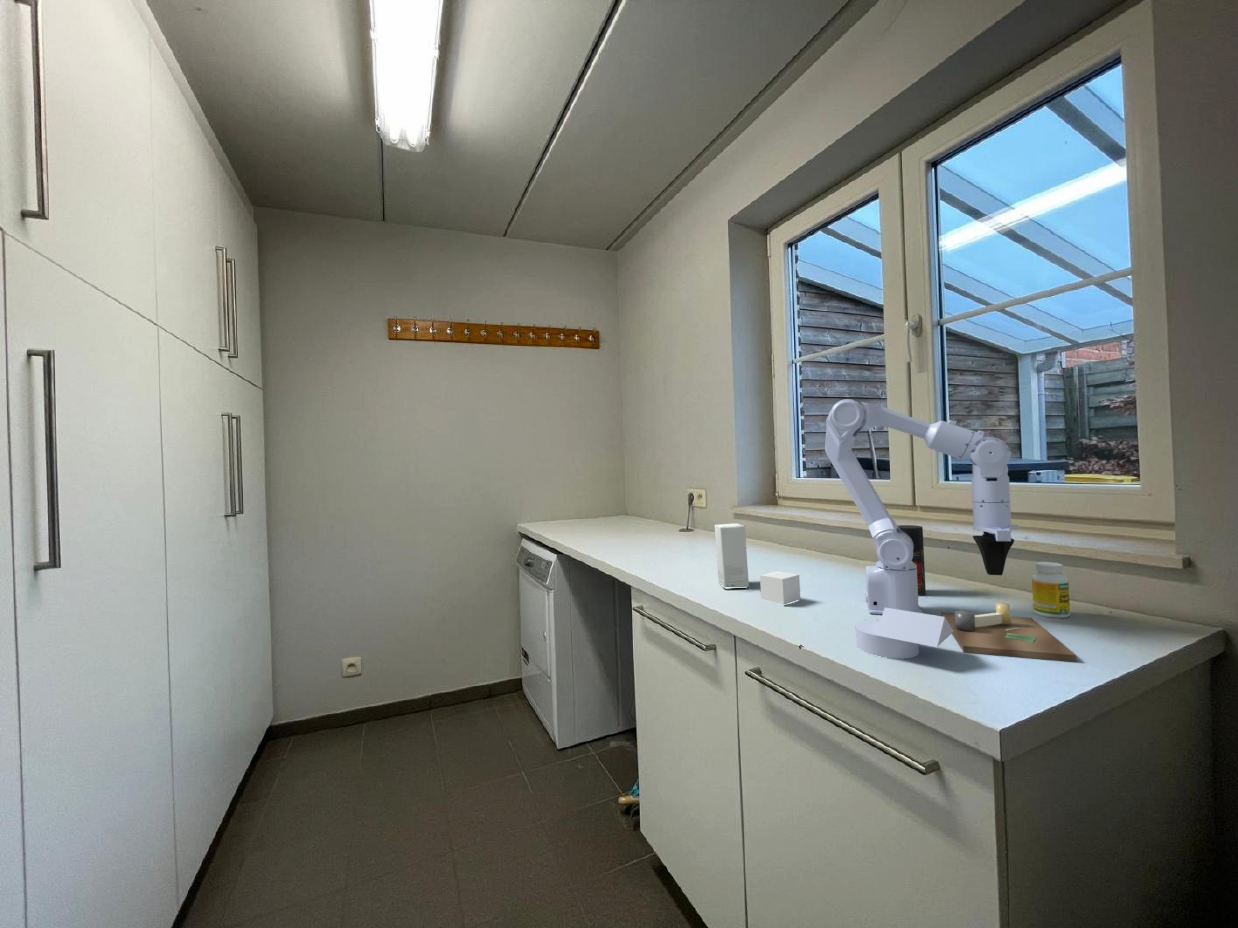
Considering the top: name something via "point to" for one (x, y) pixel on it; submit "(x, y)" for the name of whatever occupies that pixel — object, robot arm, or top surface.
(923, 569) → the deodorant
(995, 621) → the yellow capsule-ended device
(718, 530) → the skincare box
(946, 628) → the wedge on round base
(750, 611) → the top surface
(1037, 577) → the supplement bottle
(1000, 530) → the robot arm
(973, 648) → the dial board
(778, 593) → the white cube
